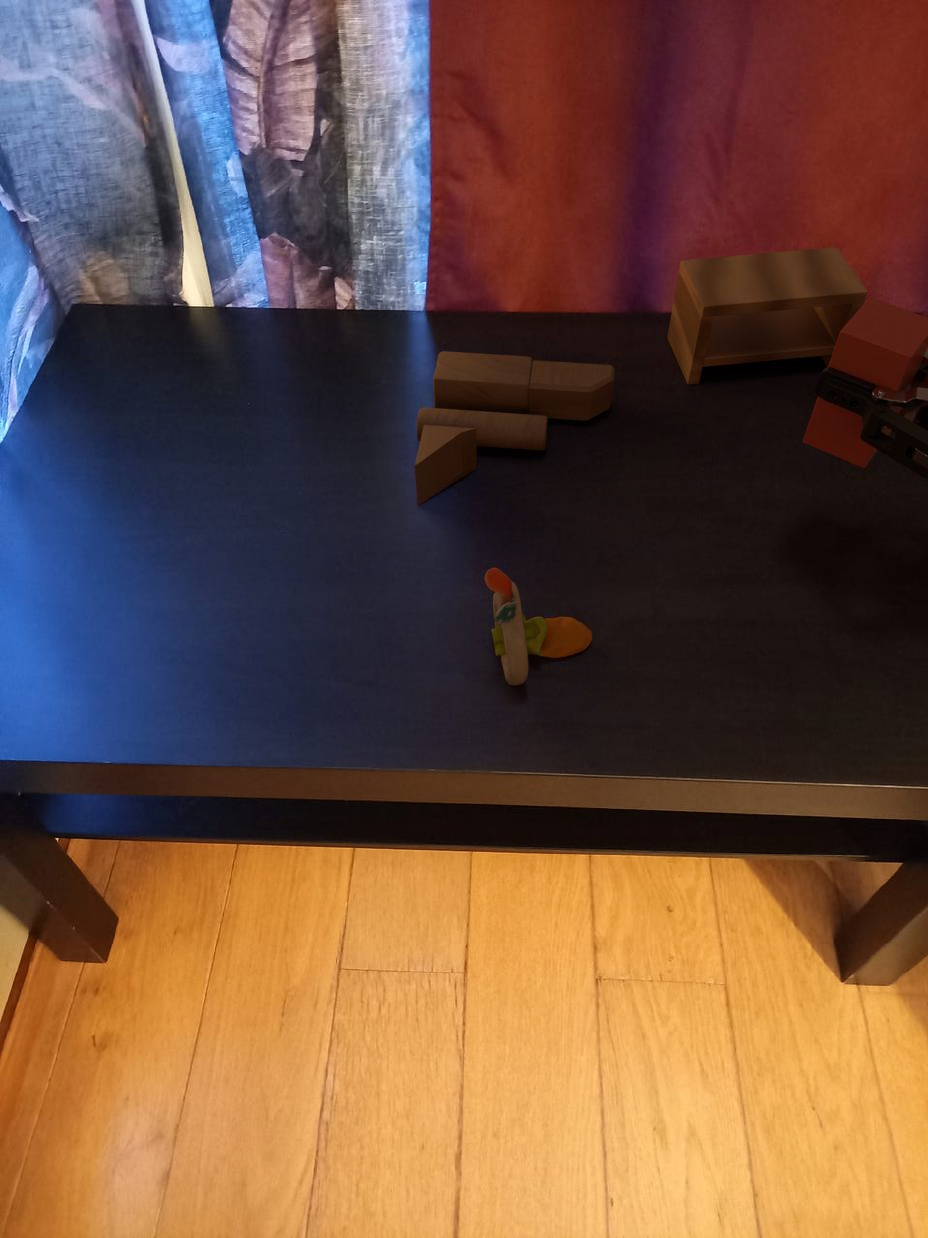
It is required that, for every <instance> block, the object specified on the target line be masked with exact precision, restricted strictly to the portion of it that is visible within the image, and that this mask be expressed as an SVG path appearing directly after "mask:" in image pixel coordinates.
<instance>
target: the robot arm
mask: <svg viewBox="0 0 928 1238" xmlns="http://www.w3.org/2000/svg"><path fill="white" fill-rule="evenodd" d="M924 370H925V371H927V372H925V371H924ZM875 385H876V384H874V383H871V382H868V381H866V380H863V379H861V378H858V377H856V376H853V375H850V374H848V373H845V372H843V371H840V370H837V369H835V368H832V367H826V366H825V367H824V369H823V370H822V371H821V373H820V374H819V376H818V379H817V382H816V385H815V388H814V393H815V394H816V396H817V397H818V396H819V397H821V398H822V399H823V400H825V401H827V402H829V403H833V404H834V405H837V406H839V407H842V408H844V409H847V410H849V411H852V412H854V413H856V414H858V415H860V416H861V417H862V421H863V429H862V432H861V434H860V438H861V439H862V440H863V441H864V442H866V443H868V444H869V445H871V446H872V447H874V448H876V449H877V450H878V451H879V452H881V453H882V454H884V455H886V456H887V457H889V458H891V459H892V460H894V461H896V462H897V463H899V464H901V465H902V466H904V467H905V468H907V469H908V470H910V471H912V472H914V473H915V474H917V475H918V476H920V477H921V478H923V479H926V480H928V348H927V350H926V352H925V355H924V357H923V359H922V361H921V364H920V366H919V369H918V371H917V373H916V376H915V378H914V380H913V382H912V385H913V387H912V388H910V389H909V391H900V390H898V391H895V390H893V389H888V388H881V387H878V388H875ZM874 388H875V389H874ZM888 405H891V406H897V407H902V408H901V410H900V412H899V413H896V412H895V411H893V410H891V409H889V408H888ZM914 420H917V421H918V422H915V421H914ZM883 428H887V429H890V430H892V431H891V432H893V433H894V435H895V436H894V438H893V437H892V436H890V435H889V436H888V435H886V434H884V433H883V432H882V429H883Z"/></svg>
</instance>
